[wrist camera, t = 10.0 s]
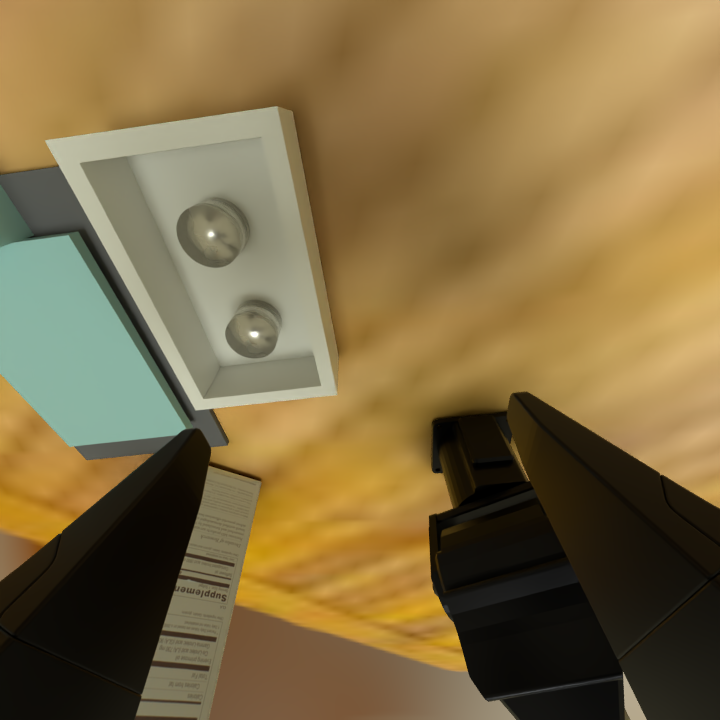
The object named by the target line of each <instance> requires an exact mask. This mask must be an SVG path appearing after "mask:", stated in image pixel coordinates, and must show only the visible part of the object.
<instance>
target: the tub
mask: <svg viewBox="0 0 720 720" xmlns="http://www.w3.org/2000/svg"><path fill="white" fill-rule="evenodd" d="M45 142H46V144H47V145H48V147H49V149H50V151H51V152H52V154H53V156H54V158H55V160H56V161H57V163H58V165H59V167H60V169H61V170H62V172H63V174H64V176H65V178H66V179H67V181H68V183H69V185H70V186H71V188H72V190H73V192H74V194H75V195H76V197H77V199H78V201H79V203H80V204H81V206H82V208H83V210H84V212H85V213H86V215H87V217H88V219H89V220H90V222H91V224H92V226H93V228H94V229H95V231H96V233H97V235H98V237H99V238H100V240H101V242H102V244H103V246H104V247H105V249H106V251H107V253H108V254H109V256H110V258H111V260H112V262H113V263H114V265H115V267H116V269H117V271H118V272H119V274H120V276H121V278H122V280H123V281H124V283H125V285H126V287H127V289H128V290H129V292H130V294H131V296H132V297H133V299H134V301H135V303H136V305H137V306H138V308H139V310H140V312H141V314H142V315H143V317H144V319H145V321H146V323H147V324H148V326H149V328H150V330H151V331H152V333H153V335H154V337H155V339H156V340H157V342H158V344H159V346H160V348H161V349H162V351H163V353H164V355H165V357H166V358H167V360H168V362H169V364H170V365H171V367H172V369H173V371H174V373H175V374H176V376H177V378H178V380H179V382H180V383H181V385H182V387H183V389H184V391H185V392H186V394H187V396H188V398H189V399H190V401H191V403H192V405H193V407H194V408H195V410H205V409H214V408H223V407H232V406H241V405H250V404H259V403H268V402H277V401H287V400H296V399H305V398H314V397H323V396H332V395H337V389H338V362H339V355H338V350H337V345H336V339H335V334H334V329H333V323H332V318H331V313H330V307H329V302H328V297H327V292H326V286H325V281H324V276H323V270H322V265H321V260H320V254H319V249H318V244H317V238H316V233H315V228H314V222H313V217H312V212H311V206H310V201H309V196H308V190H307V185H306V180H305V175H304V169H303V164H302V159H301V153H300V148H299V143H298V137H297V132H296V127H295V121H294V116H293V111H291V110H288V109H284V108H281V107H278V106H275V107H268V108H262V109H255V110H248V111H241V112H235V113H228V114H221V115H214V116H207V117H201V118H194V119H187V120H180V121H174V122H167V123H160V124H153V125H146V126H140V127H133V128H126V129H119V130H113V131H106V132H99V133H92V134H85V135H79V136H72V137H65V138H58V139H52V140H45ZM208 198H222V199H225V200H228V201H230V202H232V203H233V204H235V205H236V206H237V207H238V208H239V209H240V210H241V211H242V212H243V214H244V215H245V217H246V219H247V221H248V224H249V229H250V237H249V241H248V243H247V245H246V246H245V248H244V249H243V250H242V251H241V253H240V254H239V255H238V256H237V257H236V258H235V260H234V261H233V262H231V263H230V264H229V265H227V266H224V267H220V268H211V267H207V266H204V265H201V264H199V263H197V262H196V261H194V260H193V259H192V258H190V257H189V256H188V255H187V254H186V252H185V251H184V250H183V248H182V247H181V245H180V243H179V240H178V237H177V231H176V226H177V221H178V219H179V217H180V215H181V214H182V213H183V212H184V211H185V210H186V209H188V208H190V207H192V206H194V205H196V204H198V203H200V202H202V201H203V200H206V199H208ZM249 300H261V301H265V302H267V303H269V304H271V305H272V306H273V307H275V308H276V309H277V311H278V312H279V314H280V316H281V318H282V328H281V331H280V334H279V338H278V341H277V344H276V347H275V349H274V350H273V352H272V353H270V354H269V355H268V356H266V357H263V358H257V359H253V358H247V357H244V356H241V355H239V354H238V353H236V352H235V351H234V350H233V349H232V348H231V347H230V346H229V344H228V343H227V340H226V337H225V330H226V327H227V325H228V323H229V322H230V320H231V318H232V317H233V315H234V314H235V312H236V310H237V309H238V307H239V306H240V305H241V304H242V303H244V302H246V301H249Z"/></svg>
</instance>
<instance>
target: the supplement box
mask: <svg viewBox="0 0 720 720" xmlns="http://www.w3.org/2000/svg"><path fill="white" fill-rule="evenodd" d="M260 486H261V481H257V480H254V479H251V478H248V477H244V476H241V475H238V474H234V473H231V472H228V471H224V470H221V469H218V468H215V467H211V466H208V471H207V476H206V482H205V487H204V492H203V497H202V501H201V505H200V508H199V512H198V515H197V518H196V522H195V525H194V528H193V531H192V535H191V538H190V541H189V544H188V548H187V551H186V554H185V557H184V561H183V564H182V567H181V570H180V574H179V577H178V580H177V583H176V587H175V590H174V593H173V596H172V600H171V603H170V606H169V609H168V613H167V616H166V619H165V622H164V625H163V629H162V632H161V635H160V638H159V642H158V645H157V648H156V651H155V655H154V658H153V661H152V664H151V668H150V671H149V674H148V677H147V681H146V684H145V687H144V690H143V693H142V694H141V696H142V698H141V701H140V704H139V707H138V711H137V714H136V717H135V720H209V715H210V711H211V706H212V702H213V697H214V693H215V688H216V684H217V679H218V674H219V670H220V666H221V661H222V656H223V652H224V647H225V643H226V639H227V634H228V630H229V625H230V621H231V616H232V612H233V607H234V603H235V599H236V594H237V589H238V585H239V580H240V576H241V572H242V567H243V563H244V558H245V554H246V549H247V545H248V540H249V536H250V531H251V527H252V522H253V518H254V513H255V509H256V504H257V500H258V496H259V491H260Z"/></svg>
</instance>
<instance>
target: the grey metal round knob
mask: <svg viewBox="0 0 720 720" xmlns="http://www.w3.org/2000/svg"><path fill="white" fill-rule="evenodd" d="M176 231H177V237H178V240H179V243H180V245H181V247H182V248H183V250H184V251H185V252H186V254H187V255H188V256H189V257H190V258H192V259H193V260H194V261H196V262H197V263H199V264H201V265H204V266H207V267H211V268H220V267H224V266H227V265H229V264H230V263H231V262H233V261H234V260H235V258H236V257H237V256H238V255H239V254H240V253H241V251H242V250H243V249H244V248H245V246H246V245H247V243H248V241H249V237H250V229H249V224H248V221H247V219H246V217H245V215H244V214H243V212H242V211H241V210H240V209H239V208H238V207H237V206H236V205H235V204H233V203H232V202H230V201H228V200H225V199H222V198H208V199H206V200H203V201H202V202H200V203H198V204H196V205H194V206H192V207H190V208H188V209H186V210H185V211H184V212H183V213H182V214H181V215H180V217H179V219H178V221H177V226H176Z"/></svg>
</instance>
